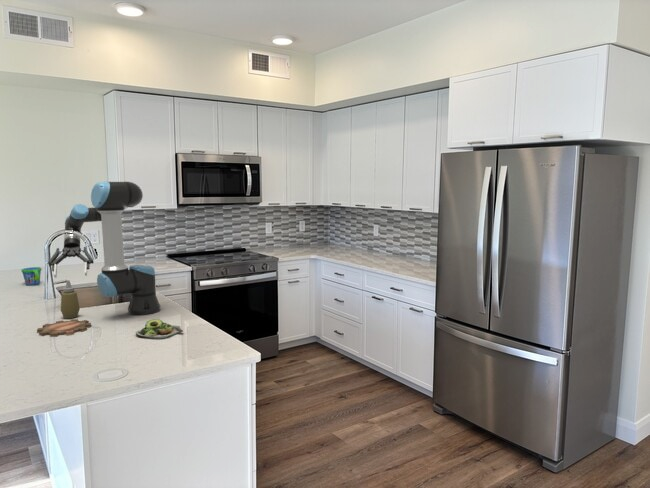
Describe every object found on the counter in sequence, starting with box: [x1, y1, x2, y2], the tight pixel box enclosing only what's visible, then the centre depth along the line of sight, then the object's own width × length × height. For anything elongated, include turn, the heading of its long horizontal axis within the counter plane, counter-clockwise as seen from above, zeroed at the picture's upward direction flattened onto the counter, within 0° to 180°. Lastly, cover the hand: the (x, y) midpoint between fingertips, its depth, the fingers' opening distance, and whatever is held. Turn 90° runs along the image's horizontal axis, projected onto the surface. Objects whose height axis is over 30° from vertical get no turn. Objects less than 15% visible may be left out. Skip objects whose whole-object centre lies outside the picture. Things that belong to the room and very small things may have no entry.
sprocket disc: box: [36, 318, 92, 338], centre depth 214 cm, size 21×21×2 cm
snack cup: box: [20, 266, 42, 286], centre depth 301 cm, size 16×10×10 cm
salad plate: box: [135, 318, 184, 340], centre depth 209 cm, size 19×18×5 cm
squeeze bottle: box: [60, 280, 80, 319], centre depth 231 cm, size 8×8×18 cm
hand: (70, 275), depth 239 cm, fingers open, 13 cm apart
